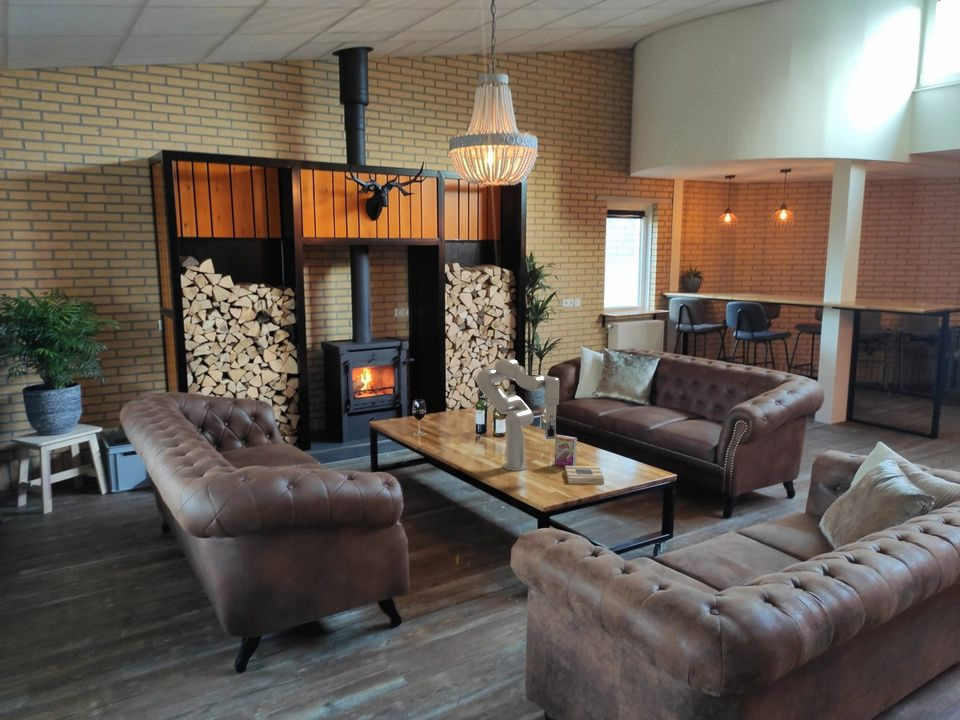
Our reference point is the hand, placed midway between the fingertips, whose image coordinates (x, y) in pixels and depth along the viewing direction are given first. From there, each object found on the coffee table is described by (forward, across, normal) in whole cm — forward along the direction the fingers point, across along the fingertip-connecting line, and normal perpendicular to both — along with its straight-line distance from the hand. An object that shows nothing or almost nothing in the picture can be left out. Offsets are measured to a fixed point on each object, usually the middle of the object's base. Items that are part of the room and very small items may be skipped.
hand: (550, 434), depth 372 cm
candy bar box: (+23, -20, +10) cm, 32 cm away
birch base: (+23, 0, +18) cm, 29 cm away
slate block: (+2, 0, 0) cm, 2 cm away
